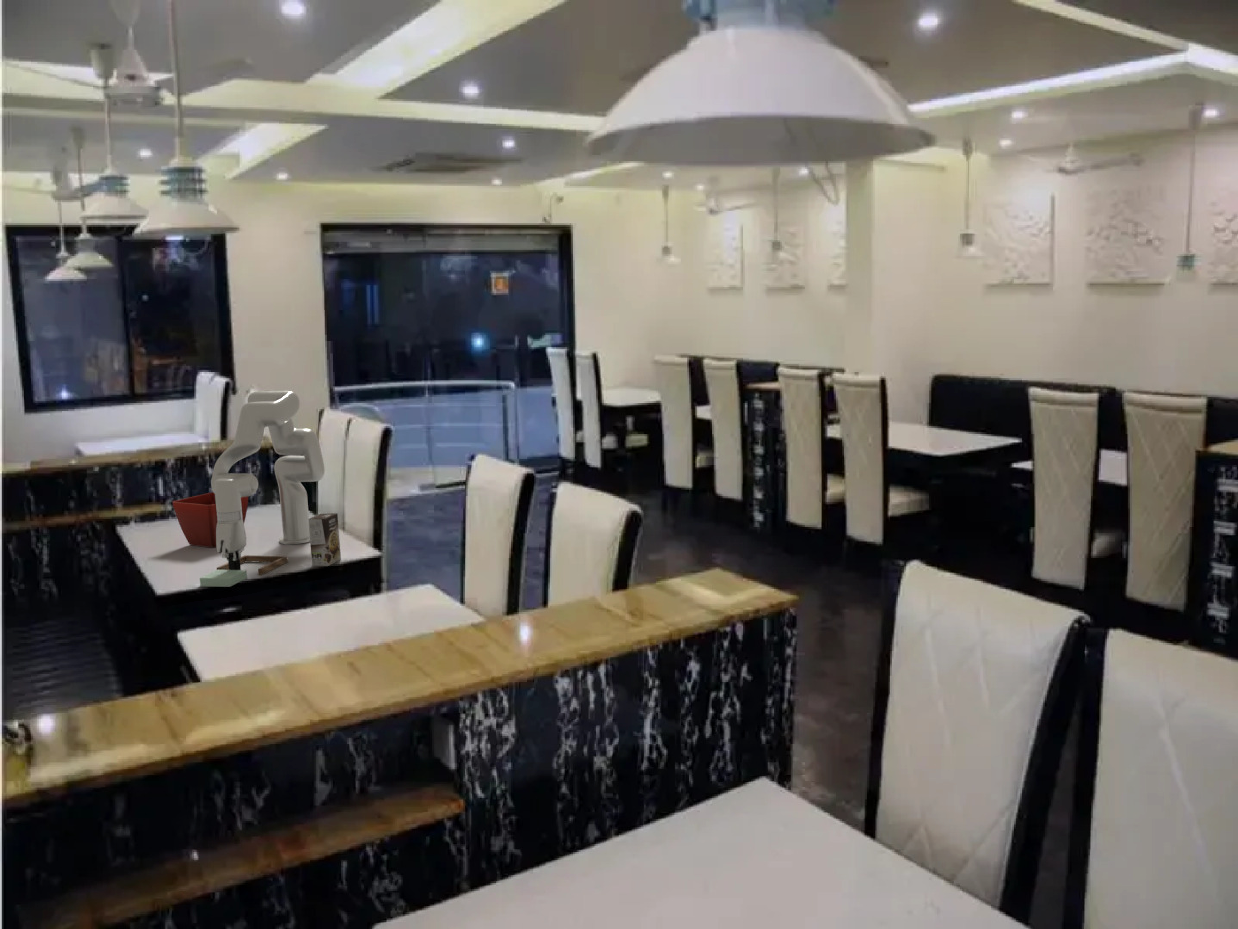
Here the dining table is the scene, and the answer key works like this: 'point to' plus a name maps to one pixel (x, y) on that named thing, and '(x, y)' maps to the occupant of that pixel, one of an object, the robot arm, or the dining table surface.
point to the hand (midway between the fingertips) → (235, 571)
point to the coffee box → (324, 539)
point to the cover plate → (223, 578)
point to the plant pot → (201, 518)
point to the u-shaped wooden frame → (274, 559)
